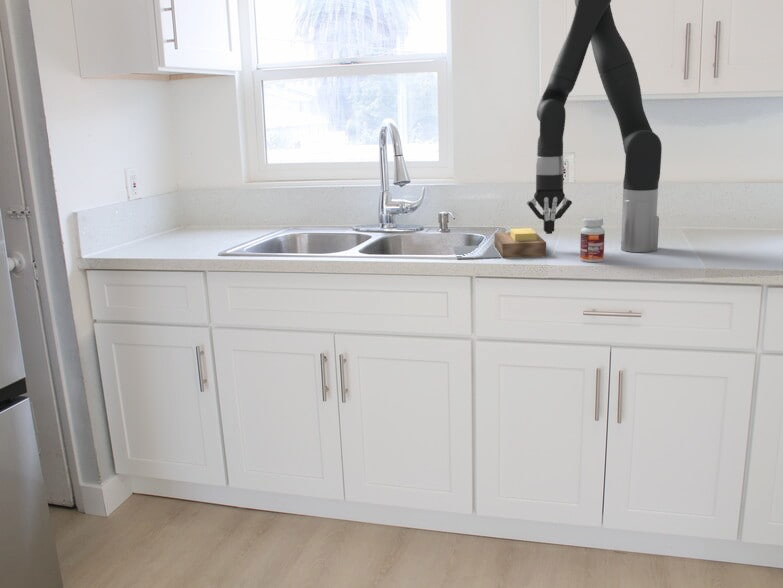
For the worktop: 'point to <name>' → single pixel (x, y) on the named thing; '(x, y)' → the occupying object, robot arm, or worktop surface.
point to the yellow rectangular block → (523, 234)
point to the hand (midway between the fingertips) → (548, 233)
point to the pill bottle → (592, 240)
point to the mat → (468, 249)
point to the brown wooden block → (519, 246)
